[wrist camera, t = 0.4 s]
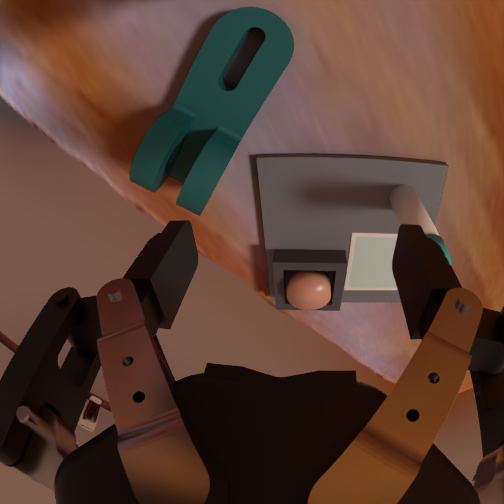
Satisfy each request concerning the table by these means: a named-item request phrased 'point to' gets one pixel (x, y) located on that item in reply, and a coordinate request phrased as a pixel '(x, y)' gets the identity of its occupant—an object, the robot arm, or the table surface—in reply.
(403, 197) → the marker
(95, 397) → the beer glass
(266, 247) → the drawing board
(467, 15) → the table surface
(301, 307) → the button
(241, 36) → the bracket
